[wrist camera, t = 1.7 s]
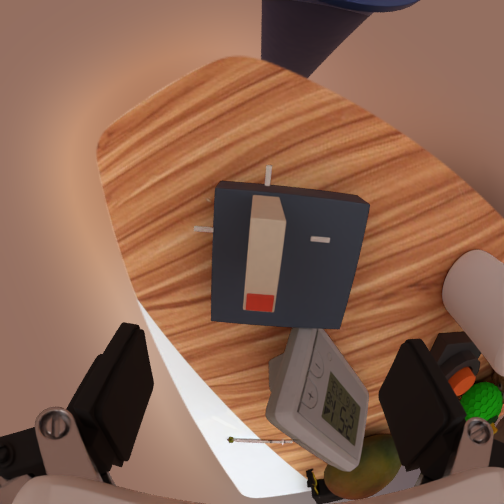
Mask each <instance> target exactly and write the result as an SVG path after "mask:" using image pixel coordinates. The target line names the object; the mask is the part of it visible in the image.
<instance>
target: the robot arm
mask: <svg viewBox="0 0 504 504" xmlns="http://www.w3.org/2000/svg"><path fill="white" fill-rule="evenodd" d="M153 386H154V381H153V376H152V372H151V366H150V361H149V356H148V350H147V345H146V339H145V333H144V330H142V329H140V327H139V325H136V324H130V323H122V324H121V325H120V327H119V328H118V330H117V331H116V333H115V335H114V336H113V338H112V340H111V341H110V343H109V344H108V346H107V348H106V349H105V351H104V353H103V354H100V355H98V356H97V358H96V359H95V360H94V362H93V364H92V365H91V367H90V369H89V370H88V372H87V374H86V375H85V377H84V379H83V381H82V382H81V384H80V386H79V387H78V389H77V391H76V393H75V394H74V396H73V398H72V400H71V402H70V403H69V405H68V407H67V409H64V408H62V407H50V408H47V409H45V410H43V411H42V412H41V413H40V414H39V415H38V417H37V418H36V421H35V427H33V428H30V429H27V430H23V431H20V432H17V433H13V434H9V435H6V436H2V437H0V504H203V503H196V502H189V501H183V500H177V499H172V498H166V497H161V496H156V495H151V494H147V493H142V492H138V491H134V490H130V489H126V488H123V487H119V486H116V485H115V484H114V482H113V480H112V478H111V476H110V474H109V472H108V471H110V469H111V467H112V464H113V465H116V466H119V467H122V465H123V462H124V461H128V460H129V458H130V455H131V452H132V449H133V446H134V443H135V440H136V437H137V434H138V431H139V428H140V425H141V422H142V419H143V416H144V413H145V410H146V407H147V405H148V402H149V399H150V396H151V393H152V391H153ZM379 401H380V403H381V406H382V409H383V412H384V415H385V417H386V420H387V423H388V426H389V429H390V432H391V435H392V438H393V441H394V444H395V447H396V450H397V453H398V456H399V459H400V462H401V464H402V465H403V466H405V469H406V471H411V470H415V469H418V468H420V470H421V473H420V475H419V478H418V480H417V482H416V484H415V486H414V487H412V488H409V489H405V490H402V491H398V492H394V493H389V494H385V495H380V496H376V497H371V498H366V499H360V500H355V501H348V502H341V503H334V504H504V443H503V442H500V441H498V440H496V439H494V438H493V437H494V433H493V429H492V427H491V425H490V424H489V423H488V422H487V421H486V420H485V419H483V418H480V417H472V418H470V419H468V420H467V421H466V420H465V417H466V416H467V414H466V412H465V410H464V408H463V406H462V405H461V403H460V401H459V399H458V397H457V396H456V394H455V392H454V390H453V389H452V387H451V385H450V384H449V382H448V380H447V379H446V377H445V375H444V374H443V372H442V370H441V369H440V367H439V365H438V364H437V362H436V361H435V359H434V357H433V356H432V354H431V353H430V351H429V350H428V348H427V346H426V345H425V343H424V342H423V341H422V339H408V340H406V341H405V343H403V344H402V345H401V347H400V349H399V351H398V353H397V355H396V358H395V360H394V362H393V364H392V366H391V368H390V370H389V372H388V374H387V377H386V379H385V381H384V383H383V384H382V386H381V388H380V390H379Z"/></svg>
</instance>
